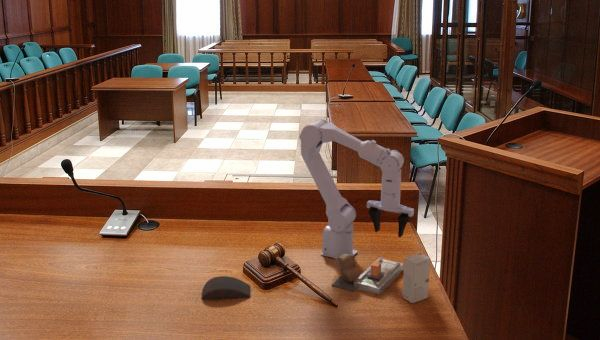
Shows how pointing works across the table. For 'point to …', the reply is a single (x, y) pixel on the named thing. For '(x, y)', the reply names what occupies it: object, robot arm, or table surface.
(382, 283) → the breaker panel
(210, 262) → the table surface
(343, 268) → the brown rectangular block
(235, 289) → the computer mouse
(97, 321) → the table surface
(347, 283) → the rubber pad
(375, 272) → the lever
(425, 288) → the skincare box
